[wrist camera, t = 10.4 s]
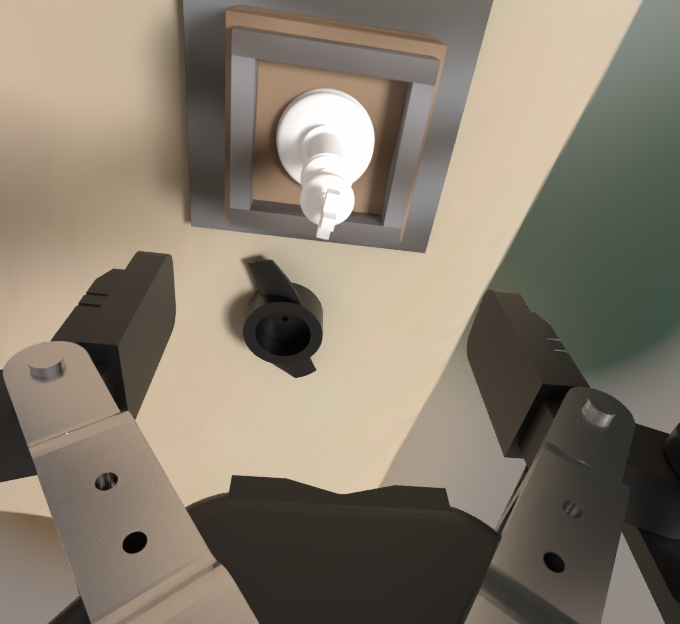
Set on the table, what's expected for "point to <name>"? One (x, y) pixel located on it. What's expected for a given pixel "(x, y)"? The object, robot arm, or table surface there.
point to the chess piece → (325, 152)
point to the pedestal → (334, 73)
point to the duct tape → (283, 321)
